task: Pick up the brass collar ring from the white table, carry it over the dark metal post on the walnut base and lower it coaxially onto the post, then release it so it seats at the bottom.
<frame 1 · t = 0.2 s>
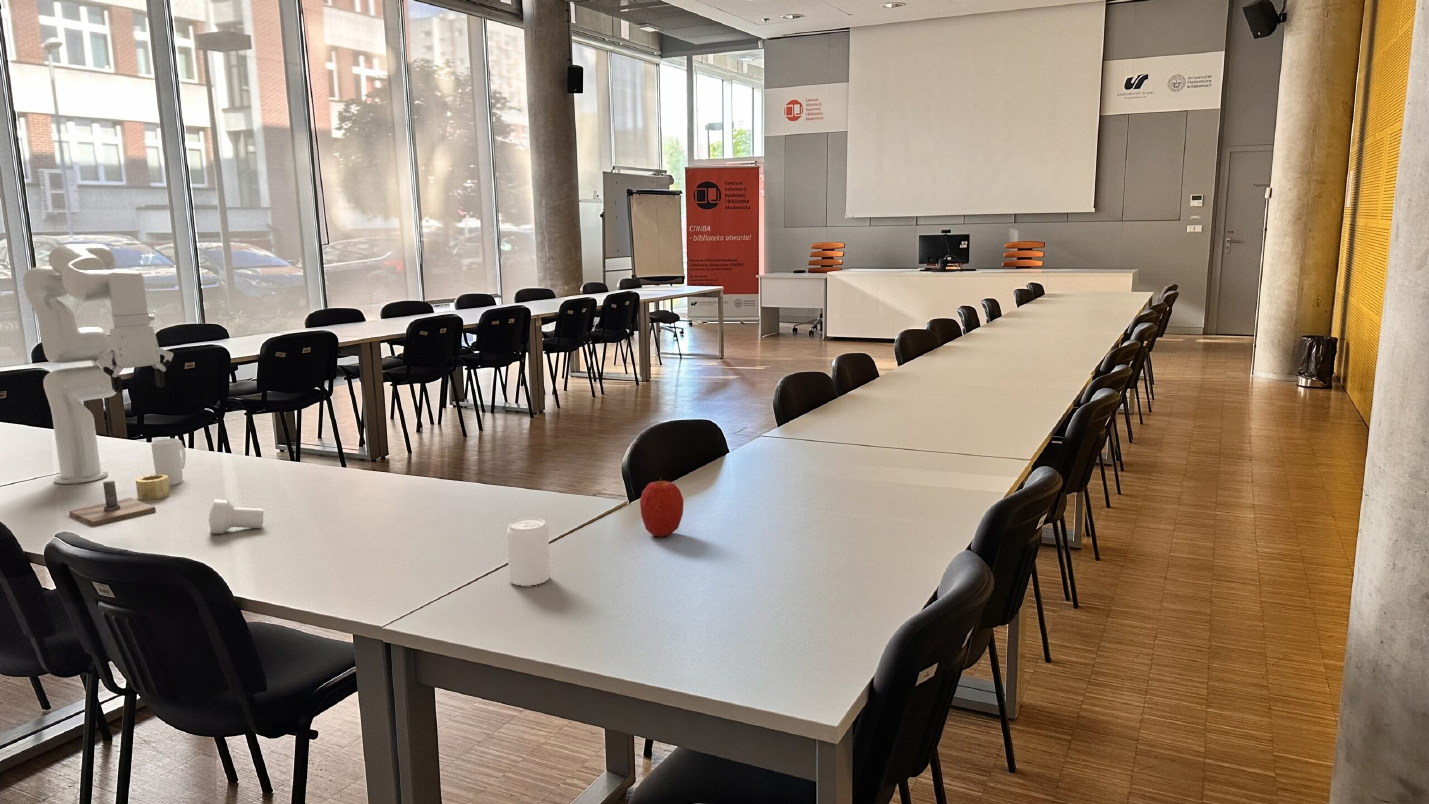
hand: (139, 389, 232), 30 cm above the table, fingers open, 9 cm apart
mug: (174, 482, 260), on the table
beverage can: (529, 581, 186), on the table
apple: (662, 535, 213), on the table
ring: (154, 496, 246), on the table
post block: (113, 513, 231), on the table
spotlight: (235, 532, 218), on the table
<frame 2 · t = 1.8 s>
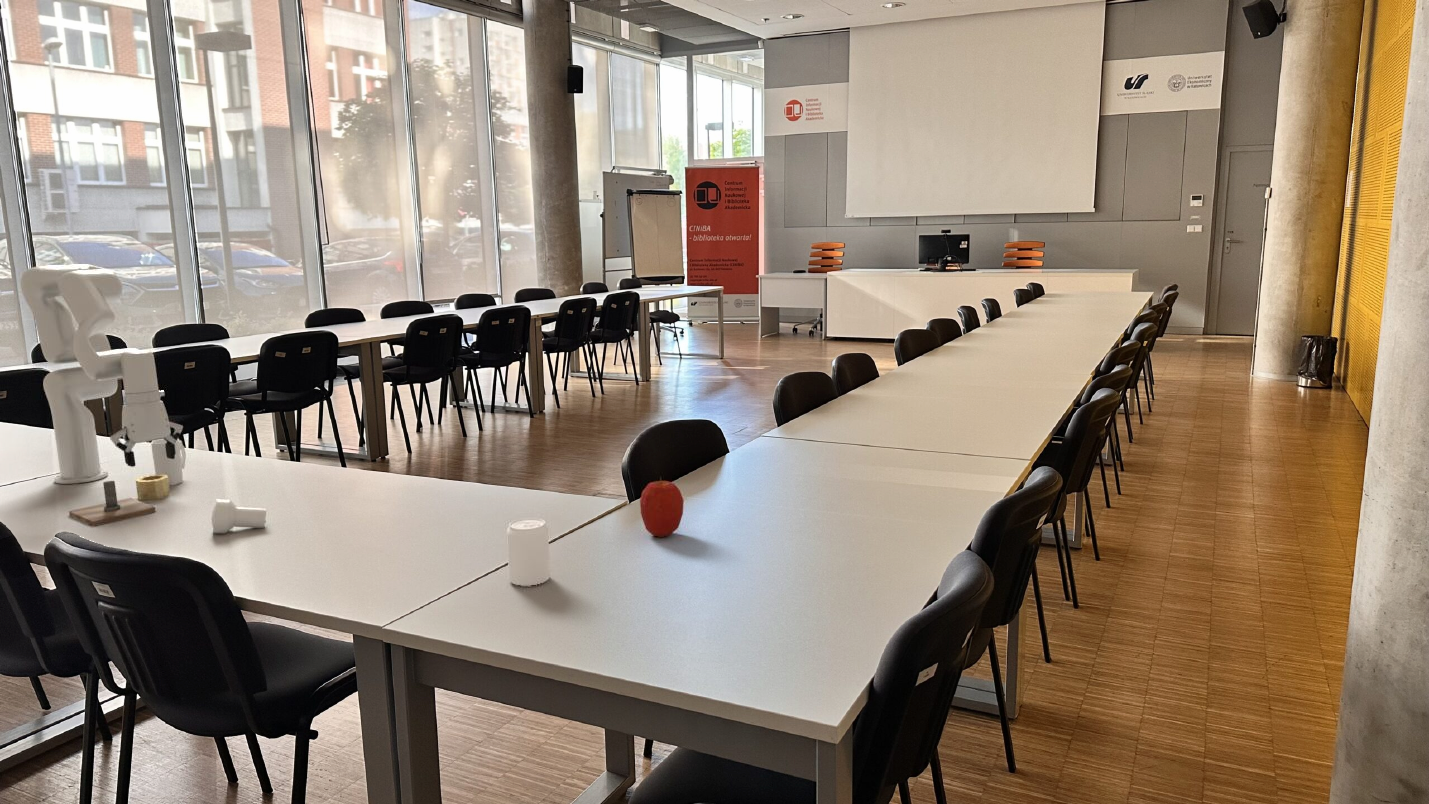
hand: (151, 462, 244), 9 cm above the table, fingers open, 9 cm apart
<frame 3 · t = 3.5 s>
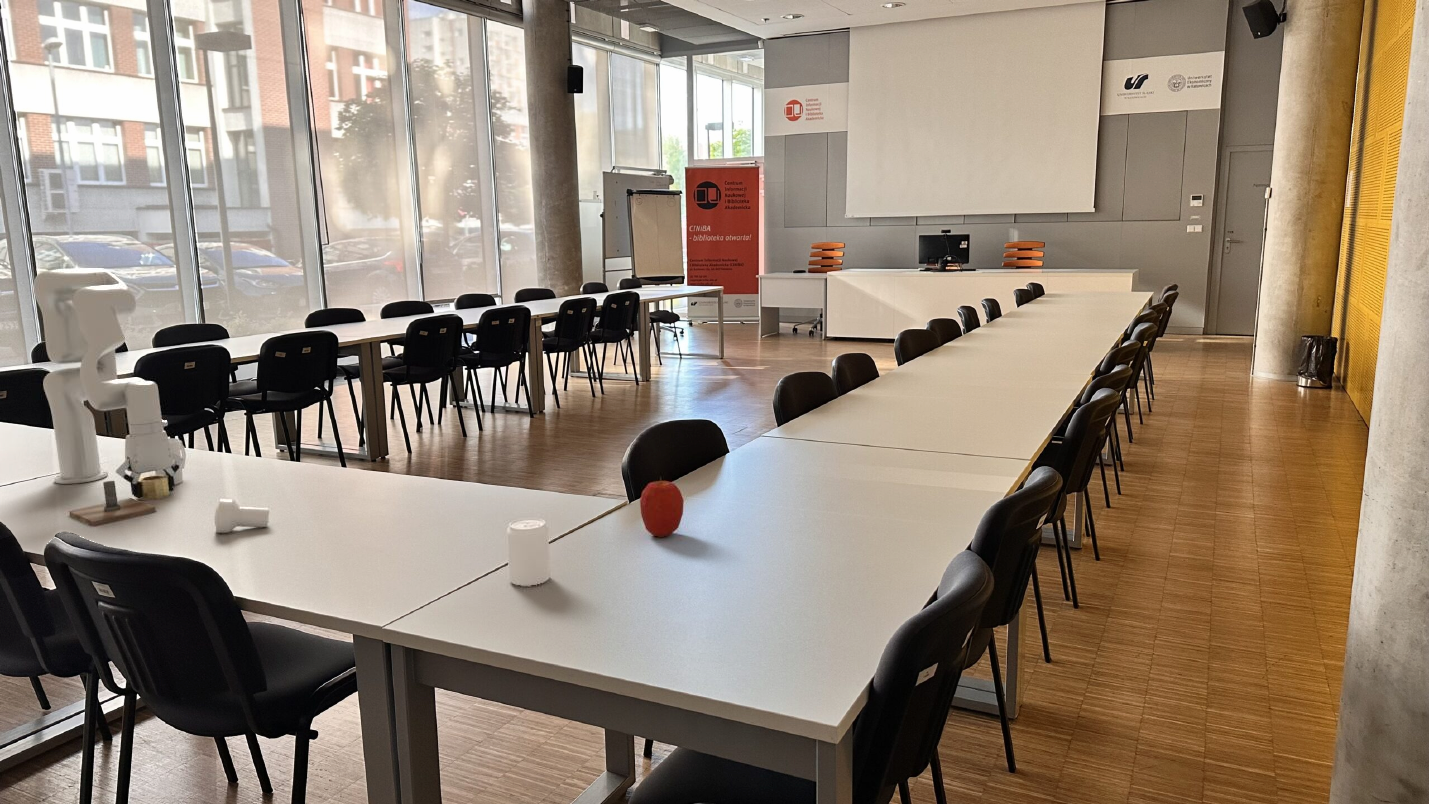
hand: (153, 493, 246), 1 cm above the table, fingers closed on ring, 7 cm apart
ring: (154, 496, 246), on the table, touching gripper
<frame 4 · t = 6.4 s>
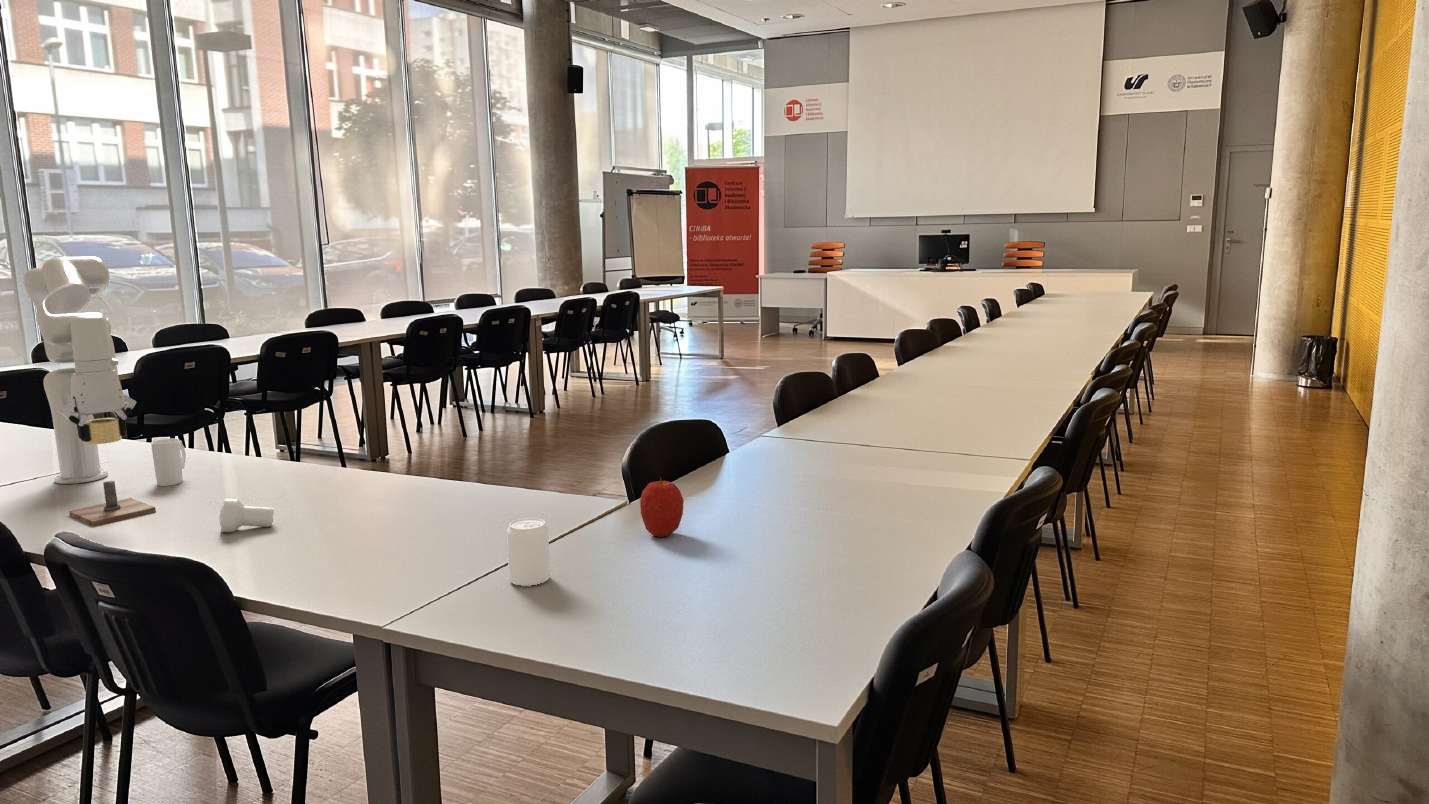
hand: (103, 437, 227), 20 cm above the table, fingers closed on ring, 7 cm apart
ring: (103, 440, 227), point 19 cm above the table, touching gripper
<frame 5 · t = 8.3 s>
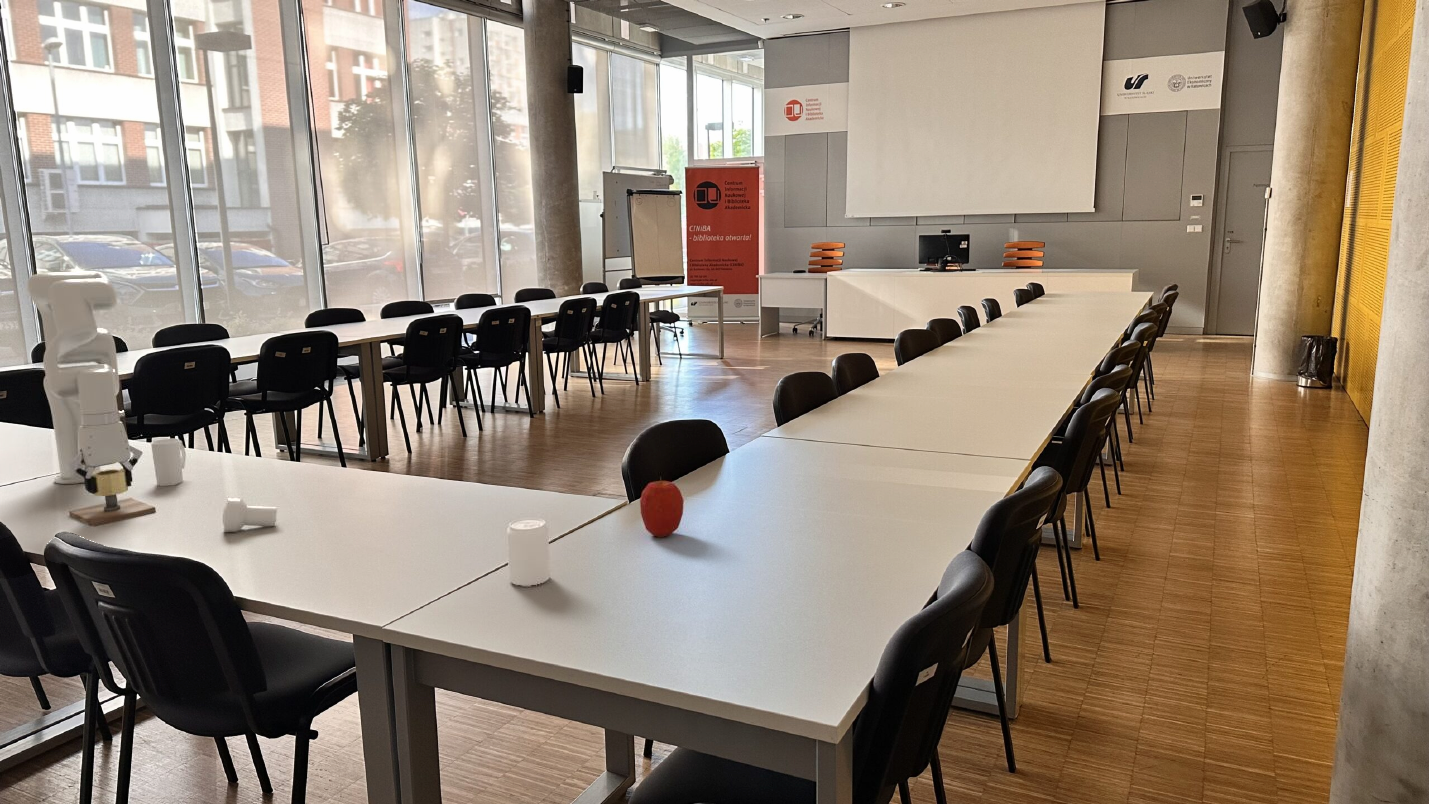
hand: (109, 488, 230), 7 cm above the table, fingers closed on ring, 7 cm apart
ring: (110, 491, 230), point 6 cm above the table, touching gripper
when the fingers open (5 cm above the table, at t = 9.7 s): ring drops 3 cm, resting on post block.
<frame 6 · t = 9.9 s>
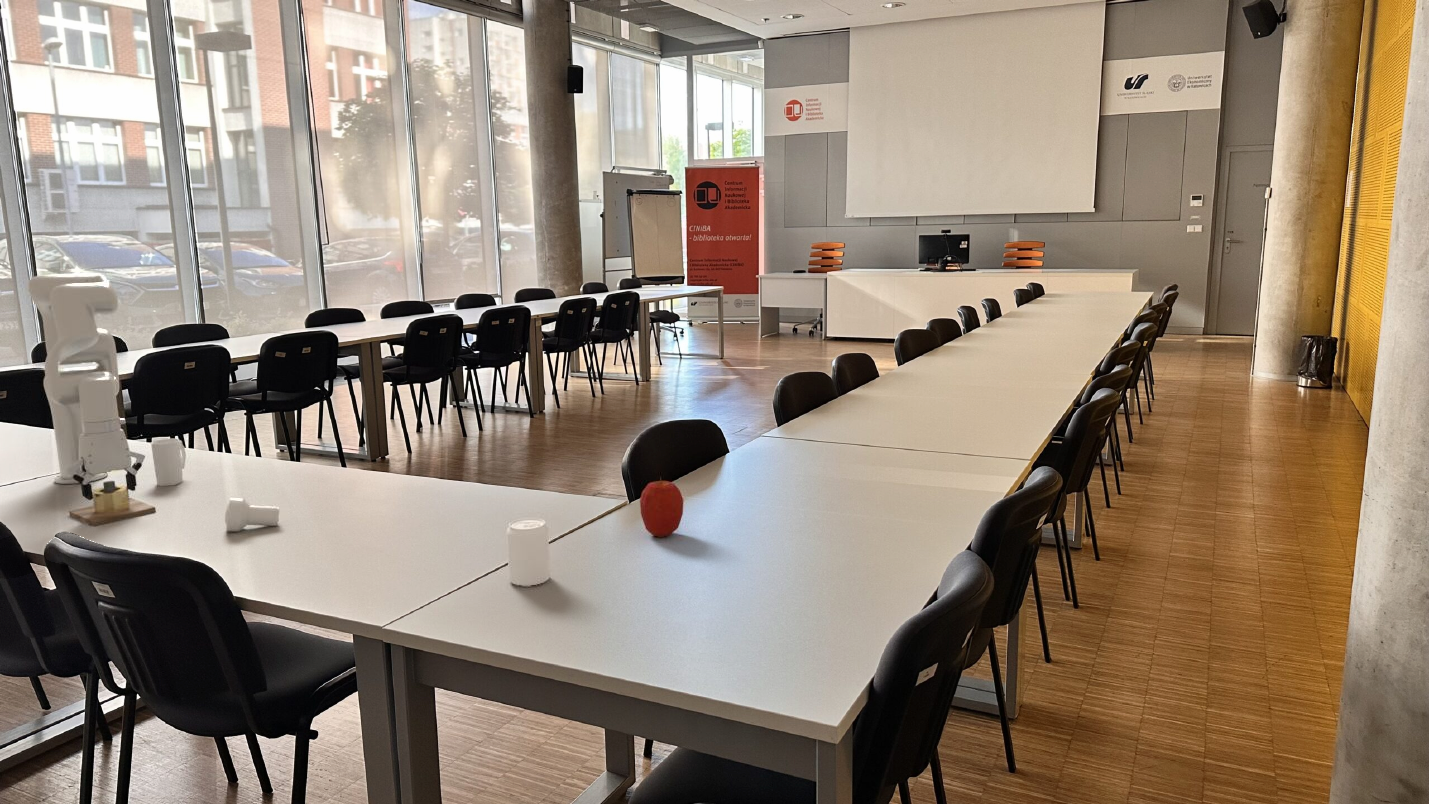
hand: (110, 494, 230), 5 cm above the table, fingers open, 9 cm apart
ring: (112, 509, 231), point 1 cm above the table, touching post block
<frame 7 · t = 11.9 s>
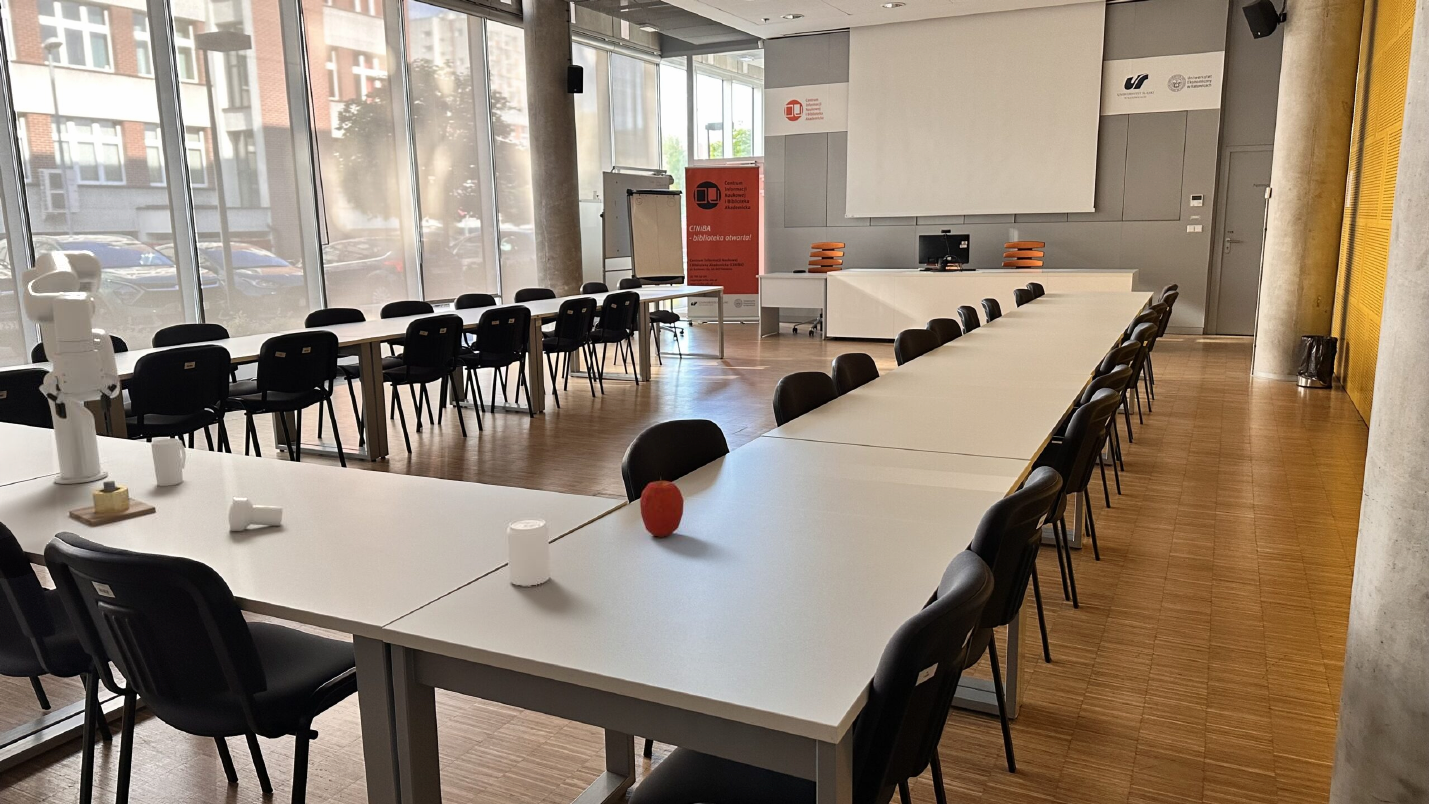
hand: (84, 414, 231), 24 cm above the table, fingers open, 9 cm apart
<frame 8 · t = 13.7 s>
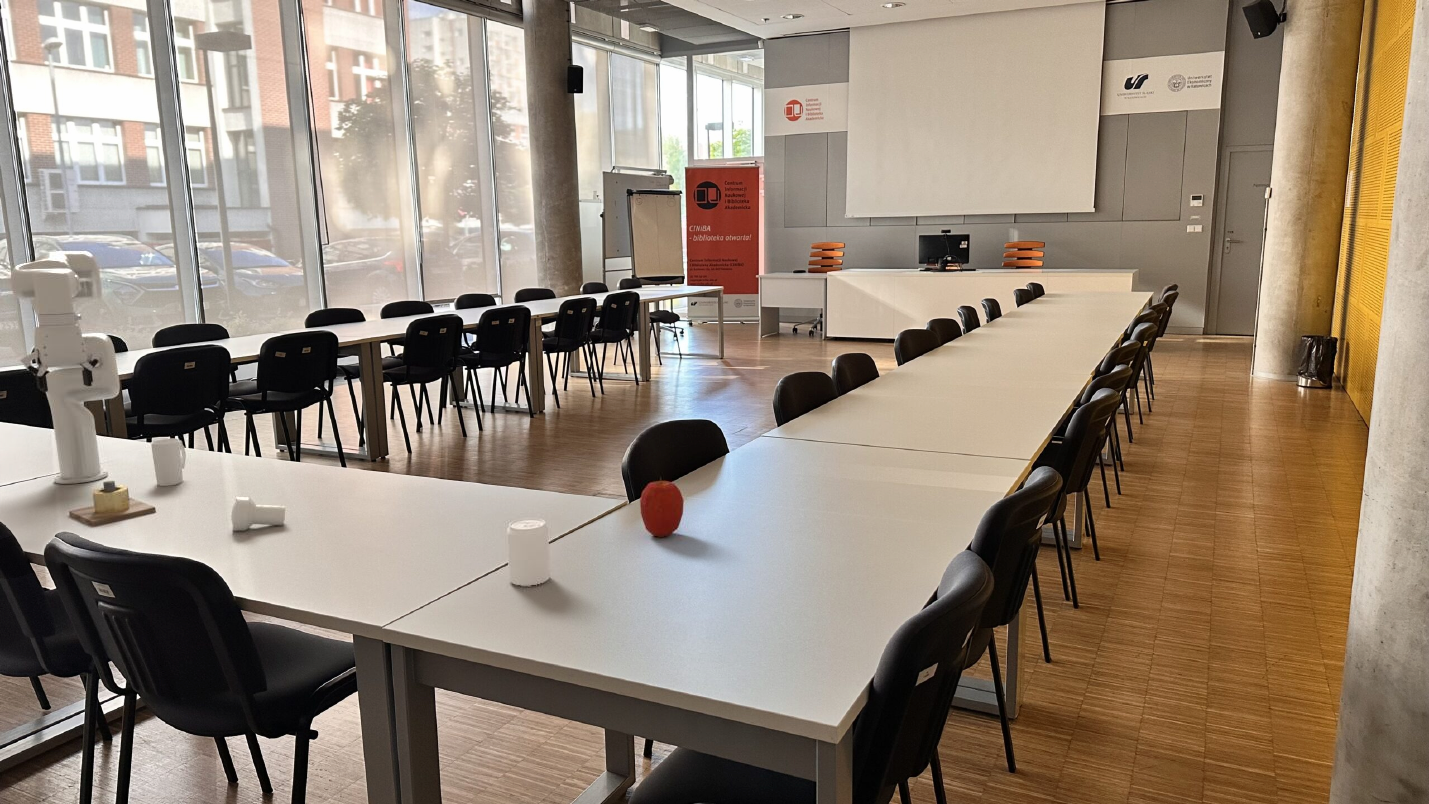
hand: (66, 388, 234), 30 cm above the table, fingers open, 9 cm apart
at the end: ring 0.0 cm off-centre on the post block, point 1.2 cm above the post block's base; the gripper is holding nothing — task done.
